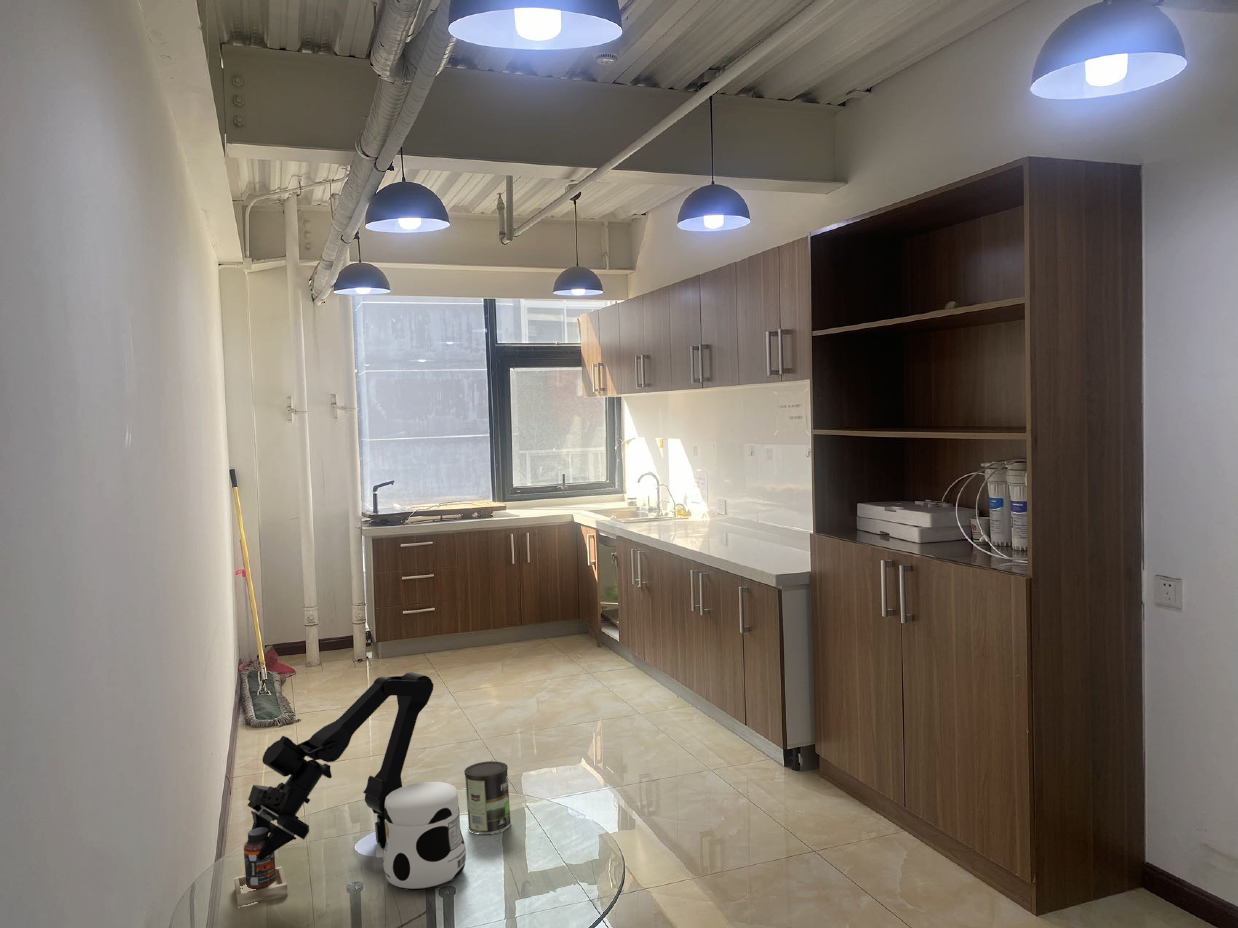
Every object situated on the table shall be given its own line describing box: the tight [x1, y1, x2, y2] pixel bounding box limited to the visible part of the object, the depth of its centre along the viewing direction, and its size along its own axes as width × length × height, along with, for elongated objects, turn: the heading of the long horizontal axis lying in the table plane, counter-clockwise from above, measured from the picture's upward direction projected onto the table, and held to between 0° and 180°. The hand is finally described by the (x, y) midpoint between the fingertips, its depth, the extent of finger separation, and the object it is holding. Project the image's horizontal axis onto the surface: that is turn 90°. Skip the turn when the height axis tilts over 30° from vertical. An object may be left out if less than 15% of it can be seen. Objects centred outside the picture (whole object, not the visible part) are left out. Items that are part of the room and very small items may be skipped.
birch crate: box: [233, 865, 289, 908], centre depth 195 cm, size 10×10×2 cm
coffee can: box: [464, 760, 512, 836], centre depth 222 cm, size 10×10×14 cm
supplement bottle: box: [243, 827, 276, 889], centre depth 195 cm, size 6×6×11 cm
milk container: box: [382, 781, 467, 892], centre depth 197 cm, size 17×17×18 cm
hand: (252, 854), depth 194 cm, fingers closed on supplement bottle, 6 cm apart
